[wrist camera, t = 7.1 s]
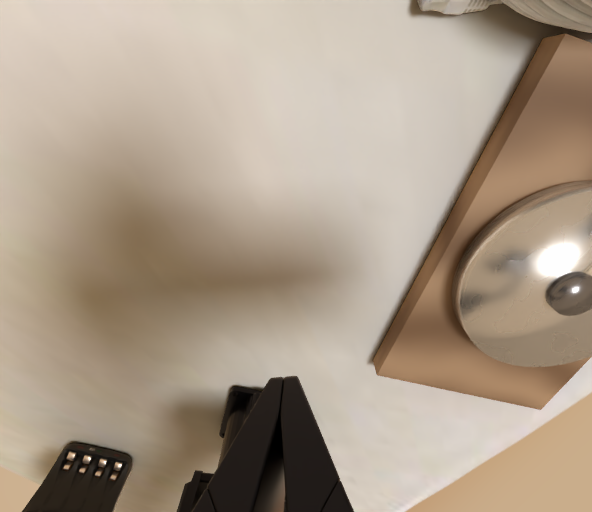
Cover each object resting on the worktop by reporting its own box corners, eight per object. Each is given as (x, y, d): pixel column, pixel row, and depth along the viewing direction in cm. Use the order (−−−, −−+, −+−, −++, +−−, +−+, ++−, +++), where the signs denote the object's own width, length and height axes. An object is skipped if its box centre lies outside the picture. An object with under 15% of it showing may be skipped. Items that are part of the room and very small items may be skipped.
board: (528, 393, 27) (541, 410, 26) (372, 359, 25) (377, 376, 24) (773, 121, 17) (816, 124, 16) (543, 37, 16) (567, 33, 14)
